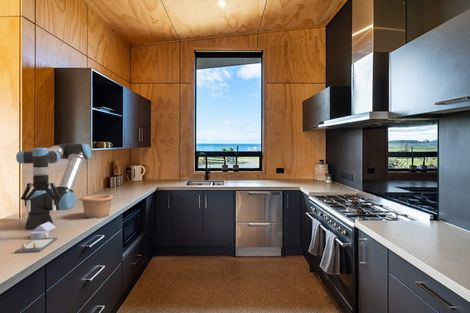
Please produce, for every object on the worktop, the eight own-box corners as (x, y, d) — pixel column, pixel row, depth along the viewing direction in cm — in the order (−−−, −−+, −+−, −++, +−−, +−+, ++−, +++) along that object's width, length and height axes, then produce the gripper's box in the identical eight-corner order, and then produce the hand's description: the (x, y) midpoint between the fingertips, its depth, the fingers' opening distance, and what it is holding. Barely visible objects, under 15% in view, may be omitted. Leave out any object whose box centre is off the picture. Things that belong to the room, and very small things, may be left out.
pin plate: (36, 240, 169) (35, 232, 169) (57, 239, 171) (57, 232, 170) (15, 253, 148) (15, 245, 148) (39, 251, 150) (39, 243, 150)
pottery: (75, 219, 216) (75, 199, 215) (89, 212, 238) (88, 194, 237) (106, 219, 216) (106, 199, 216) (117, 212, 238) (117, 194, 238)
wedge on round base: (41, 232, 184) (26, 239, 171) (41, 221, 183) (26, 227, 170) (56, 232, 183) (42, 239, 170) (56, 221, 183) (42, 227, 170)
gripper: (13, 175, 170) (13, 213, 171) (61, 174, 174) (62, 211, 175) (20, 174, 178) (21, 210, 178) (66, 173, 181) (67, 209, 182)
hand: (41, 211), depth 176 cm, fingers open, 13 cm apart
